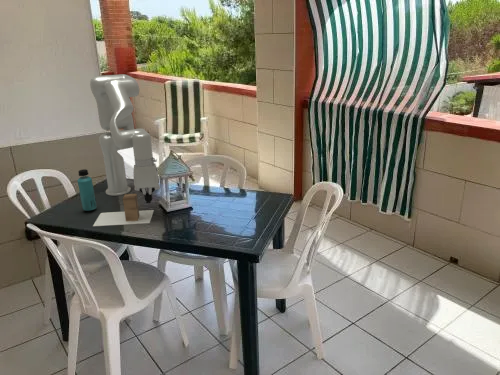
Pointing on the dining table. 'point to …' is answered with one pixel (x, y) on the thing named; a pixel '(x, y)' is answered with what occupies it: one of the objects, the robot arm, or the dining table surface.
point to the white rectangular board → (122, 218)
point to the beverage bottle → (86, 191)
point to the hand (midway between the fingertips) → (148, 202)
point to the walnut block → (131, 207)
